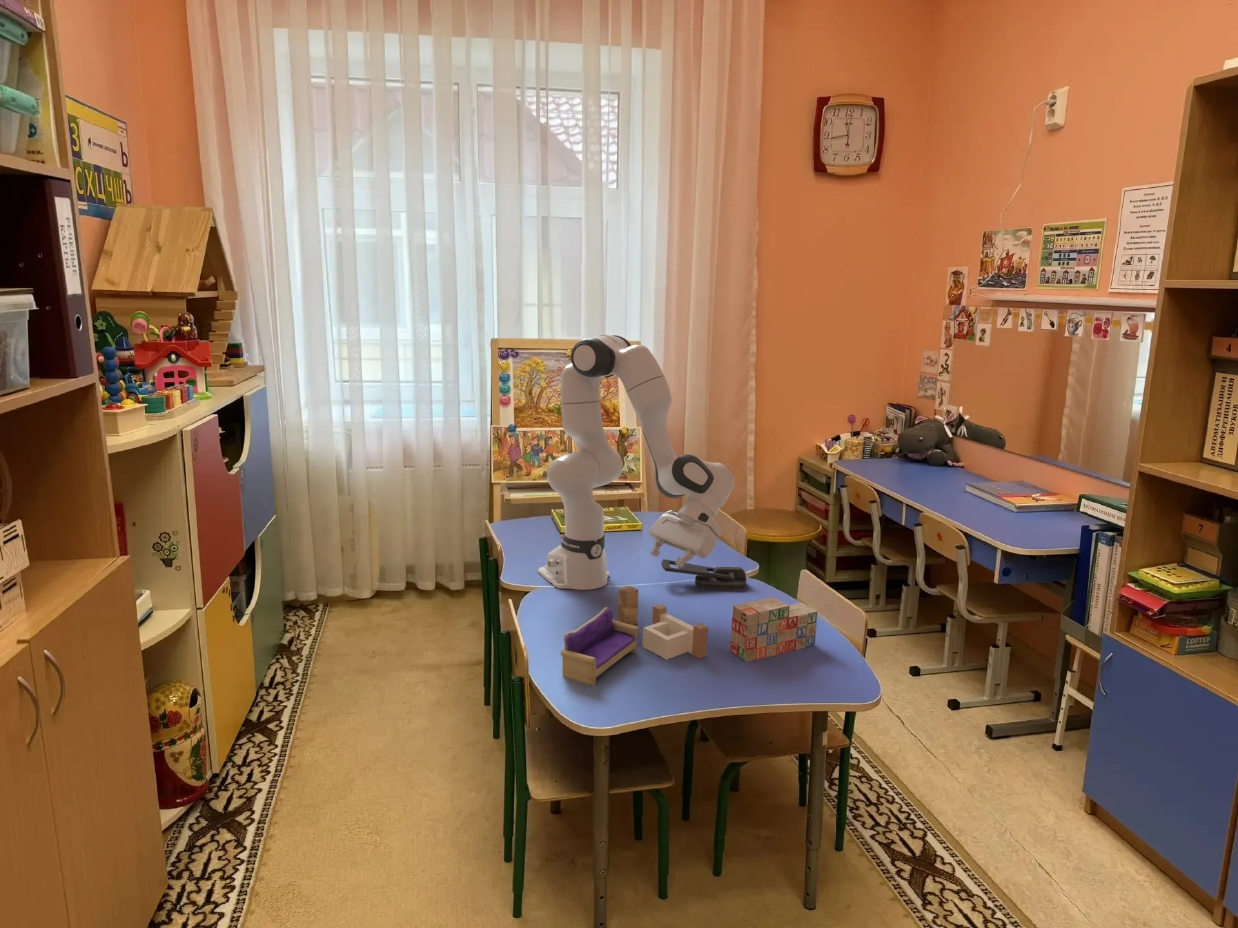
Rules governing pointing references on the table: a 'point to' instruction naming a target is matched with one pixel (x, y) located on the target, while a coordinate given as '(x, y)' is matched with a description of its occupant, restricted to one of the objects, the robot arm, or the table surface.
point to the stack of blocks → (771, 628)
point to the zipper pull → (711, 576)
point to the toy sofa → (597, 646)
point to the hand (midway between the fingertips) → (665, 560)
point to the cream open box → (674, 636)
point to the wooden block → (628, 605)
